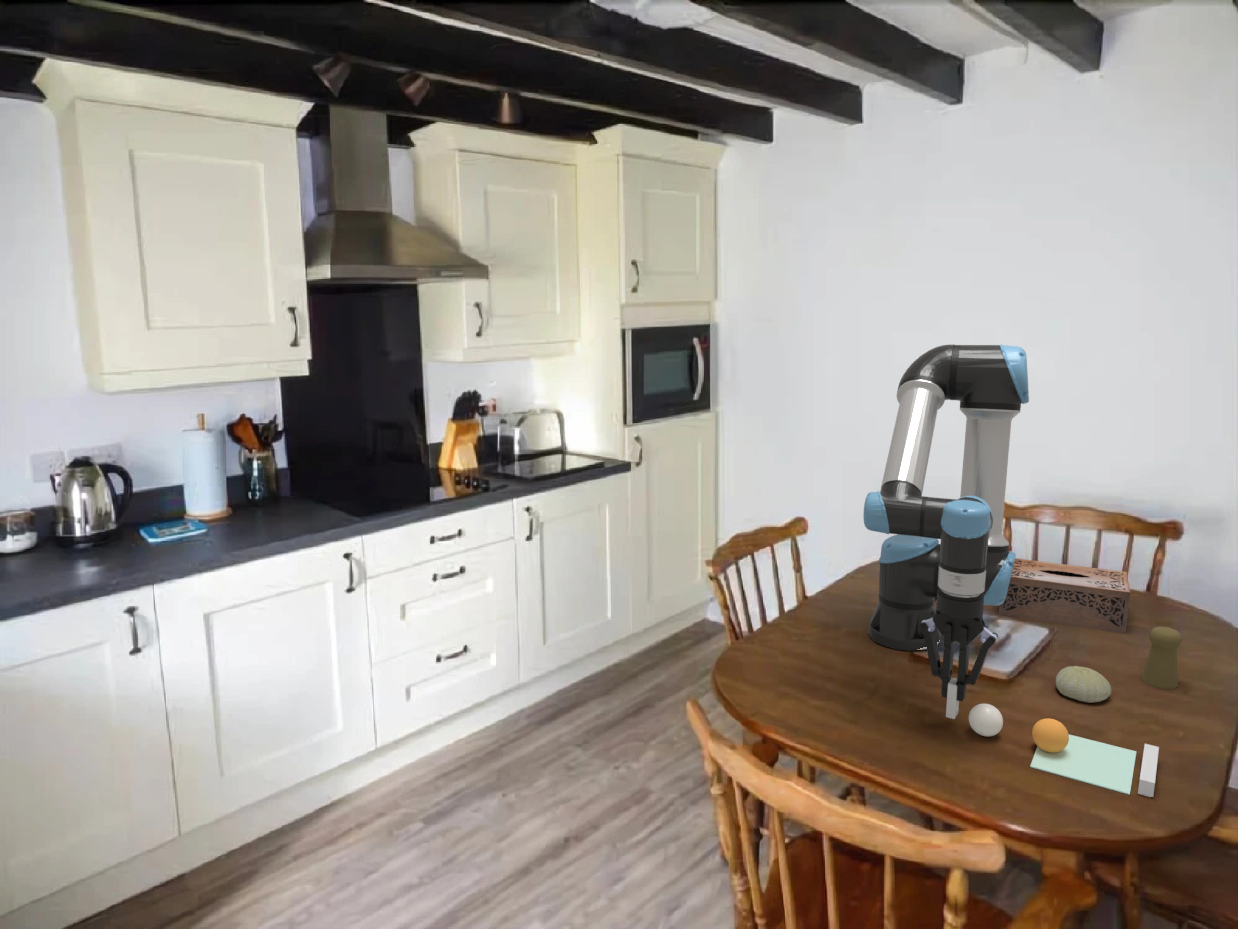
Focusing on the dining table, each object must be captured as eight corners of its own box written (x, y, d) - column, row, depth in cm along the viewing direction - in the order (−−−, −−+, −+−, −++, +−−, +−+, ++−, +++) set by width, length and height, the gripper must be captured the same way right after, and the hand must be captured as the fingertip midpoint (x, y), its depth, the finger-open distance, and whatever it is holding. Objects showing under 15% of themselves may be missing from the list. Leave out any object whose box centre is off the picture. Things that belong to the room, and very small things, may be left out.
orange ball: (1034, 721, 139) (1070, 735, 137) (1039, 708, 144) (1074, 721, 141) (1026, 750, 141) (1062, 764, 138) (1031, 735, 146) (1065, 749, 143)
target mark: (1030, 767, 137) (1030, 766, 137) (1043, 729, 148) (1044, 728, 148) (1129, 795, 129) (1129, 793, 129) (1136, 752, 140) (1136, 751, 140)
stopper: (1137, 793, 129) (1139, 779, 129) (1143, 757, 139) (1144, 743, 139) (1153, 798, 128) (1154, 783, 128) (1157, 760, 138) (1159, 747, 137)
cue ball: (993, 710, 143) (1002, 741, 143) (1001, 698, 147) (1010, 728, 147) (961, 711, 146) (969, 741, 146) (970, 699, 150) (978, 729, 150)
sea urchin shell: (1095, 703, 153) (1069, 662, 157) (1064, 717, 159) (1040, 678, 163) (1126, 691, 157) (1100, 651, 161) (1094, 705, 163) (1070, 667, 167)
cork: (1178, 692, 160) (1185, 638, 158) (1141, 684, 163) (1147, 631, 161) (1177, 679, 165) (1184, 626, 163) (1141, 672, 168) (1148, 620, 166)
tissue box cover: (998, 615, 198) (1001, 575, 196) (1003, 595, 211) (1006, 557, 208) (1125, 635, 186) (1130, 592, 184) (1122, 612, 199) (1126, 572, 196)
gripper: (916, 590, 146) (908, 714, 151) (996, 605, 138) (986, 734, 143) (927, 577, 152) (920, 696, 157) (1005, 590, 144) (995, 715, 149)
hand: (952, 714), depth 150 cm, fingers closed
